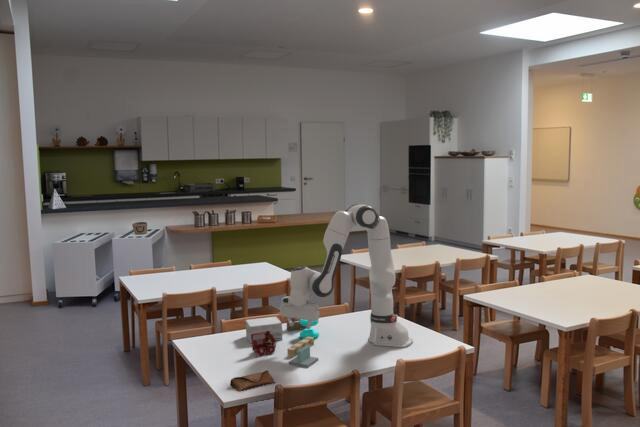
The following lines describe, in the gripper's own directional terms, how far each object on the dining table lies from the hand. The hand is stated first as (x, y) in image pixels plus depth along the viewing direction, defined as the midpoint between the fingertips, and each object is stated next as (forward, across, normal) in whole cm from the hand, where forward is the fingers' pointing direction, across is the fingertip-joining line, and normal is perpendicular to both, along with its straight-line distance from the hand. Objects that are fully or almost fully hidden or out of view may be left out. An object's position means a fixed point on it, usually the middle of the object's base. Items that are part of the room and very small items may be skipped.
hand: (299, 327), depth 280 cm
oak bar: (+12, -1, 0) cm, 12 cm away
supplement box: (+12, +26, -9) cm, 31 cm away
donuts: (+12, +5, -20) cm, 24 cm away
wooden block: (+12, +18, -30) cm, 37 cm away
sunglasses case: (+13, -3, +44) cm, 46 cm away
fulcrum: (+12, -10, +14) cm, 20 cm away
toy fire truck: (+12, +14, +10) cm, 21 cm away
